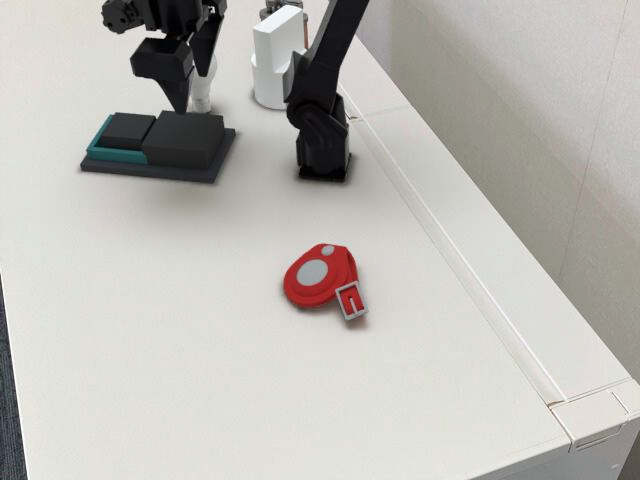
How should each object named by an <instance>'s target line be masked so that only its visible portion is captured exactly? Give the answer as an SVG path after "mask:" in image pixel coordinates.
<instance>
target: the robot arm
mask: <svg viewBox="0 0 640 480" xmlns="http://www.w3.org/2000/svg"><path fill="white" fill-rule="evenodd" d="M369 3H370V0H329V2H328V4H327V6H326V9H325V12H324V14H323V16H322V19H321V21H320V24H319V26H318V28H317V31H316V34H315V37H314V39H313V41H312V44H311V45H310V47H308V50H307V51H306V52H305V53H304V54H303V55H301V54H299V53H297V52H296V51H293V52H292V55H291V60H290V65H289V67H288V69H287V71H286V72H285V73H284V74H283V75H282V81H283V102H284V103H286V109H285V115H286V116H285V117H286V119H287V120H288V122H289V124H290V125H291V126H292V127H293V128H295V129H297V130H299V131H298V134H297V137H296V139H295V150H296V151H295V152H296V164H297V165H296V166H297V167H299V170H298V178H299V179H305V180H313V181H314V180H317V181H325V182H326V181H327V182H336V183H344V182H346V178H347V175H348V172H349V168H350V165H351V161H352V158H353V157H352V156H353V154H352V153H351V151H350V123H347V121H348V120H347V115H346V107H345V101H344V97H343V96H342V95H341V94H340V93H339V92H338V91H337V90H338V83H339V76H340V70H341V67H342V65H343V63H344V60H345V57H346V56H347V53H348V52H349V51H348V50H349V49H350V46H351V44H352V42H353V39H354V37H355V35H356V33H357V30H358V29H359V26H360V23H361V21H362V19H363V17H364V15H365V13H366V10H367V8H368V6H369ZM227 10H228V1H227V0H105V2H103V4H102V5H101V11H100V14H101V16H102V26H104V27H105V28H107V30H108V31H110V32H112V33H114V34H116V35H118V36H119V35H124V34H125V33H126V31H130V30H132V29H136V28H139V27H142V26H144V27H145V31H146V32H157V31H160V32H161V33H162V34H164V35H165V37H162V38H161V37H148V36H145V37H144V39H142V41H141V42H140V43H139V44H138V46H137V47H136V49H135V50H134V52H133V53H132V54H131V56H130V57H129V63H130V67H131V71H132V75H133V76H134V77H135V78H143V79H147V80H153V81H154V82H156V83H157V85H158V86H159V87H160V89H161V90H162V92H163V93H164V95H165V96H166V98H167V100H168V102H169V104H170V105H171V107H172V109H173V111H175V112H176V113H177V114H178V115H185V114H186V112H188V107H189V102H190V98H191V95H190V92H191V86H192V81H193V76H194V70H195V67H196V70H197V73H198V75H199V76H200V77H207V75H208V72H209V68H210V64H211V61H212V57H213V54H215V50H216V46H217V43H218V41H219V40H218V39H219V36H220V32H221V29H222V27H223V22H224V20H225V13H226V11H227ZM188 43H189V45H188ZM193 60H194V64H195V66H194V65H193Z"/></svg>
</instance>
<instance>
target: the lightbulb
mask: <svg viewBox="0 0 640 480" xmlns="http://www.w3.org/2000/svg"><path fill="white" fill-rule="evenodd" d="M188 45H189V43H188ZM193 65H194V66H195V64H194V60H193ZM217 71H218V60H217V57H216V54H215V53H214V54H213V57H212V61H211V64H210V68H209V72H208V75H207V77H200V76H199V75H198V73H197V70H196V67H195V70H194V76H193V81H192V86H191V92H190V98H191V101H192V102H191V103H192V108H193V112H194V113H202V114H208V112H210V111H211V110H212V103H211V99H210V98H211V97H210V93H211V89H212V88H211V85H212V83H213V80H214V79H215V77H216V74H217Z"/></svg>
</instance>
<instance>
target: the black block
mask: <svg viewBox="0 0 640 480" xmlns="http://www.w3.org/2000/svg"><path fill="white" fill-rule="evenodd" d="M112 115H113V117H112V118H111V120H110V121H109V123H108V124H107V126H106V127H105V129H104V130H103V132H102V133H101V135H100V137H101V141H102V144H103V148H109V149H119V150H130V151H141V152H143V151H142V147H141V145H142V143H143V141H144V140H145V138H146V136H147V135H148V133H149V131H150V130H151V128H152V126H153V125H154V123H155V121H156V118H157V116H156V115H153V114H141V113H130V112H122V111H121V112H120V111H115V112H114V114H112Z"/></svg>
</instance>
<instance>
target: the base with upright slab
mask: <svg viewBox="0 0 640 480" xmlns="http://www.w3.org/2000/svg"><path fill="white" fill-rule="evenodd" d="M303 13H304V8H303V9H301V8H299V7H296V6H291V5H285V6H283V7H282V8H280V9H279V10H278V11H276V12H275V13H273V14H272V15H270V16H269V17H267V18H266V19H265V20H263V21H262V22H261V21H260V22H259V23H258V24H256V25H255V26H253V27H252V35H253V45H254V52H253V53H252V54H251V57H250V59H251V60H250V61H251V70H252V80H253V90H254V99H255V100H256V102H257V103H258V104H260V105H261V106H262V107H265V108H268V109H271V110H286V103H284V102H283V81H282V75H283V74H284V73H285V72H286V71H287V69H288V67H289V65H290V60H291V55H292V52H293V51H296V52H297V53H299V54H301V55H303V54H304V53H305V52H306V51H307V50H306V49H305V44H304V25H303Z"/></svg>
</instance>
